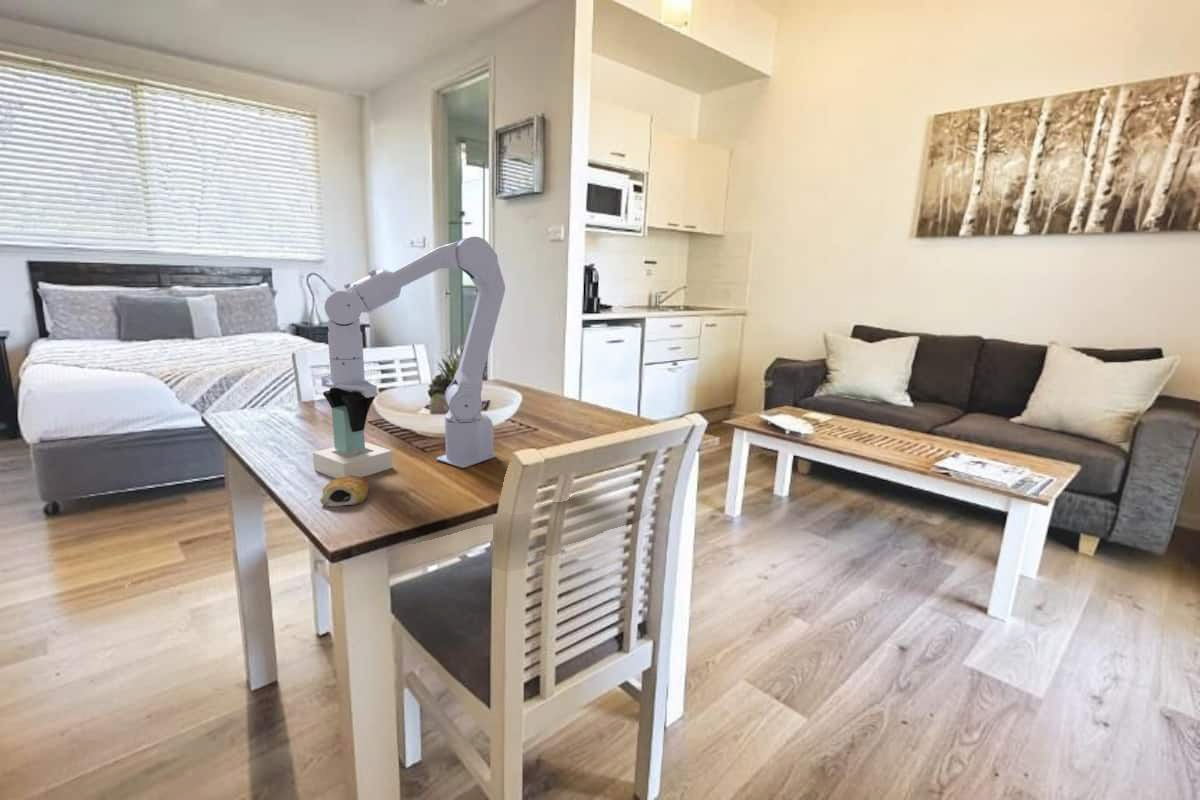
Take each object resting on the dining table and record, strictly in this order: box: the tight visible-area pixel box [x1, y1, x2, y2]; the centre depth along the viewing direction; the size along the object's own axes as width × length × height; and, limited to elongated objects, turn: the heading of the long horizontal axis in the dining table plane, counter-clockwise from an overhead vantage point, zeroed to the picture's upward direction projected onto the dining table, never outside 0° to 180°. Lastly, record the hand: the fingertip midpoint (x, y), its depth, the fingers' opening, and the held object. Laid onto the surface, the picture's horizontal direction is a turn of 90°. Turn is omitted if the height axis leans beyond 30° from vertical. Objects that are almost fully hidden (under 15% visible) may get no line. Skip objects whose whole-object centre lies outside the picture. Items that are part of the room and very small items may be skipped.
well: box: [312, 441, 394, 480], centre depth 109 cm, size 10×10×4 cm
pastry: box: [320, 475, 369, 507], centre depth 96 cm, size 9×7×4 cm
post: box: [331, 405, 366, 453], centre depth 107 cm, size 4×4×8 cm
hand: (351, 428), depth 107 cm, fingers closed on post, 4 cm apart
